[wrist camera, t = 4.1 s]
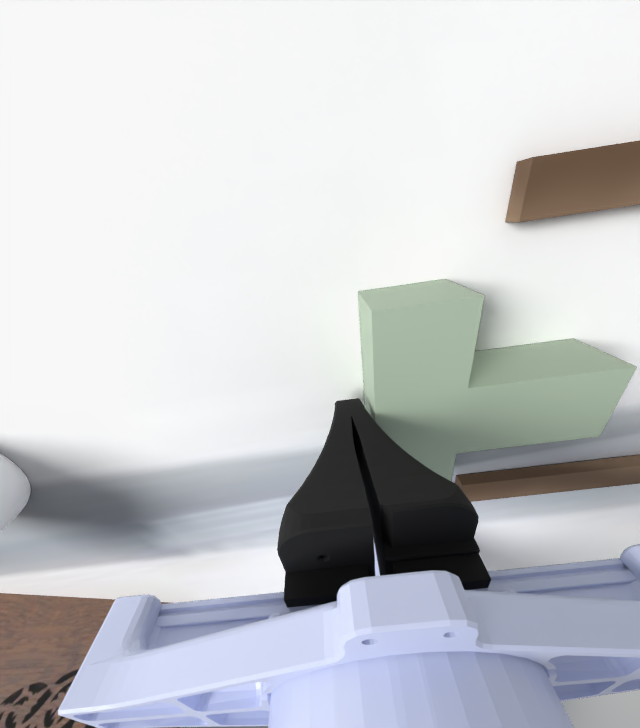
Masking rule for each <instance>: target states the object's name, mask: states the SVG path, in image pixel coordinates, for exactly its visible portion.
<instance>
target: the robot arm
mask: <svg viewBox="0 0 640 728" xmlns="http://www.w3.org/2000/svg"><path fill="white" fill-rule="evenodd" d="M477 524H478V515H477V513H476V511H475V509H474V507H473V505H472V504H471V502H470V501H469V499H468V498H467V496H466V495H465V494H464V492H463V491H462V490H461V488H460V487H459V486H458V485H457V484H455V483H453V482H451V481H449V480H448V479H446V478H444V477H442V476H440V475H439V474H437V473H435V472H434V471H432V470H431V469H429V468H427V467H426V466H424V465H423V464H422V463H420V462H419V461H418V460H416V459H415V458H413V457H412V456H411V455H409V454H408V453H407V452H406V451H405V450H403V449H402V448H401V447H400V446H399V445H398V444H396V443H395V442H394V441H393V440H392V439H391V438H390V437H389V436H388V435H387V434H386V433H385V432H384V431H383V430H382V429H381V427H380V426H379V425H378V424H377V423H376V422H375V420H374V419H373V418H372V417H371V415H370V414H369V413H368V411H367V410H366V409H365V407H364V406H363V404H362V402H361V400H360V399H358V398H357V399H349V400H342V401H337V402H336V403H335V412H334V417H333V421H332V425H331V429H330V432H329V435H328V437H327V440H326V443H325V445H324V448H323V450H322V452H321V454H320V456H319V458H318V460H317V462H316V464H315V466H314V467H313V469H312V471H311V472H310V474H309V475H308V477H307V478H306V480H305V481H304V483H303V484H302V486H301V487H300V489H299V490H298V491H297V493H296V494H295V495H294V496H293V498H292V499H291V500H290V501H289V503H288V504H287V506H286V509H285V512H284V515H283V518H282V522H281V526H280V531H279V539H278V548H277V550H278V555H279V557H280V560H281V562H282V564H283V567H284V569H285V571H286V575H285V588H284V592H279V593H269V594H259V595H250V596H240V597H230V598H220V599H210V600H200V601H190V602H180V603H170V604H162V603H161V602H160V600H159V599H158V598H157V597H155V596H152V595H137V596H127V597H119V598H117V599H115V601H114V603H113V605H112V607H111V609H110V611H109V613H108V615H107V617H106V618H105V620H104V622H103V624H102V626H101V628H100V630H99V632H98V634H97V636H96V638H95V640H94V642H93V644H92V646H91V647H90V649H89V651H88V653H87V655H86V657H85V659H84V661H83V663H82V665H81V667H80V669H79V671H78V673H77V675H76V676H75V678H74V680H73V682H72V684H71V686H70V688H69V690H68V692H67V694H66V696H65V698H64V700H63V702H62V703H61V705H60V707H59V709H58V715H60V716H63V717H66V718H69V719H72V720H75V721H78V722H81V723H84V724H87V725H91V726H94V727H97V728H160V727H215V726H268V728H574V726H573V724H572V722H571V720H570V718H569V716H568V714H567V713H566V711H565V709H564V707H563V705H562V703H561V701H566V700H573V699H580V698H587V697H593V696H601V695H608V694H615V693H621V692H628V691H635V690H640V544H637V545H633V546H630V547H628V548H627V549H625V550H624V551H623V552H622V554H621V556H620V558H617V559H607V560H598V561H588V562H578V563H568V564H558V565H548V566H538V567H528V568H518V569H508V570H498V571H488V572H487V570H486V568H485V566H484V564H483V562H482V560H481V558H480V556H479V554H478V553H479V552H480V550H479V547H478V545H477V543H476V541H475V539H474V535H475V531H476V528H477Z"/></svg>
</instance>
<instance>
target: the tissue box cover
mask: <svg viewBox="0 0 640 728" xmlns="http://www.w3.org/2000/svg"><path fill="white" fill-rule="evenodd" d="M114 601H115V600H112V599H94V598H76V597H58V596H40V595H22V594H4V593H0V728H97V727H94V726H91V725H87V724H84V723H81V722H78V721H75V720H72V719H69V718H66V717H63V716H60V715H58V709H59V707H60V705H61V703H62V702H63V700H64V698H65V696H66V694H67V692H68V690H69V688H70V686H71V684H72V682H73V680H74V678H75V676H76V675H77V673H78V671H79V669H80V667H81V665H82V663H83V661H84V659H85V657H86V655H87V653H88V651H89V649H90V647H91V646H92V644H93V642H94V640H95V638H96V636H97V634H98V632H99V630H100V628H101V626H102V624H103V622H104V620H105V618H106V617H107V615H108V613H109V611H110V609H111V607H112V605H113V603H114ZM161 603H162V604H170V603H165V602H161ZM160 728H180V727H160Z"/></svg>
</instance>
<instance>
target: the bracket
mask: <svg viewBox="0 0 640 728" xmlns="http://www.w3.org/2000/svg"><path fill="white" fill-rule="evenodd" d="M639 204H640V141H634V142H628V143H621V144H615V145H608V146H602V147H596V148H589V149H583V150H576V151H570V152H564V153H557V154H551V155H544V156H538V157H532V158H529V159H525V160H522V161H518V162H517V164H516V170H515V175H514V180H513V185H512V190H511V196H510V201H509V206H508V211H507V216H506V221H505V222H523V221H530V220H537V219H544V218H551V217H557V216H564V215H571V214H578V213H585V212H591V211H598V210H605V209H612V208H619V207H626V206H632V205H639ZM638 483H640V455H634V456H625V457H616V458H607V459H598V460H589V461H580V462H571V463H562V464H553V465H545V466H536V467H527V468H518V469H509V470H500V471H491V472H482V473H473V474H464V475H457V476H456V481H455V484H457V485H458V486H459V487H460V488H461V490H462V491H463V492H464V494H465V495H466V496H467V498H468V499H469V501H470V502H472V501H481V500H490V499H500V498H509V497H518V496H527V495H537V494H546V493H555V492H564V491H573V490H583V489H592V488H601V487H610V486H620V485H629V484H638Z"/></svg>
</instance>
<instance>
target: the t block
mask: <svg viewBox="0 0 640 728" xmlns="http://www.w3.org/2000/svg"><path fill="white" fill-rule="evenodd" d="M484 296H485V295H482V294H480V293H478V292H475V291H473V290H470V289H468V288H466V287H463V286H461V285H459V284H456V283H454V282H451V281H449V280H447V279H442V280H435V281H428V282H421V283H414V284H407V285H400V286H393V287H386V288H379V289H371V290H364V291H358V300H359V317H360V333H361V350H362V366H363V383H364V399H365V409H366V410H367V411H368V413H369V414H370V415H371V417H372V418H373V419H374V420H375V422H376V423H377V424H378V425H379V426H380V427H381V429H382V430H383V431H384V432H385V433H386V434H387V435H388V436H389V437H390V438H391V439H392V440H393V441H394V442H395V443H396V444H398V445H399V446H400V447H401V448H402V449H403V450H405V451H406V452H407V453H408V454H409V455H411V456H412V457H413V458H415V459H416V460H418V461H419V462H420V463H422V464H423V465H424V466H426V467H427V468H429V469H431V470H432V471H434V472H435V473H437V474H439V475H440V476H442V477H444V478H446V479H448V480H449V481H452V475H453V470H454V464H455V458H456V453H464V452H473V451H481V450H490V449H498V448H507V447H515V446H524V445H532V444H541V443H549V442H558V441H566V440H575V439H583V438H592V437H600V435H601V433H602V431H603V429H604V427H605V425H606V424H607V422H608V420H609V418H610V416H611V414H612V413H613V411H614V409H615V407H616V405H617V403H618V401H619V400H620V398H621V396H622V394H623V392H624V390H625V388H626V387H627V385H628V383H629V381H630V379H631V377H632V376H633V374H634V372H635V370H636V368H637V367H636V366H634V365H632V364H629V363H627V362H625V361H623V360H620V359H618V358H616V357H614V356H611V355H609V354H607V353H605V352H602V351H600V350H598V349H596V348H593V347H591V346H589V345H587V344H584V343H582V342H580V341H578V340H575V339H565V340H558V341H550V342H542V343H535V344H527V345H520V346H512V347H505V348H497V349H489V350H482V351H475V346H476V341H477V335H478V330H479V324H480V318H481V313H482V307H483V302H484Z"/></svg>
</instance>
